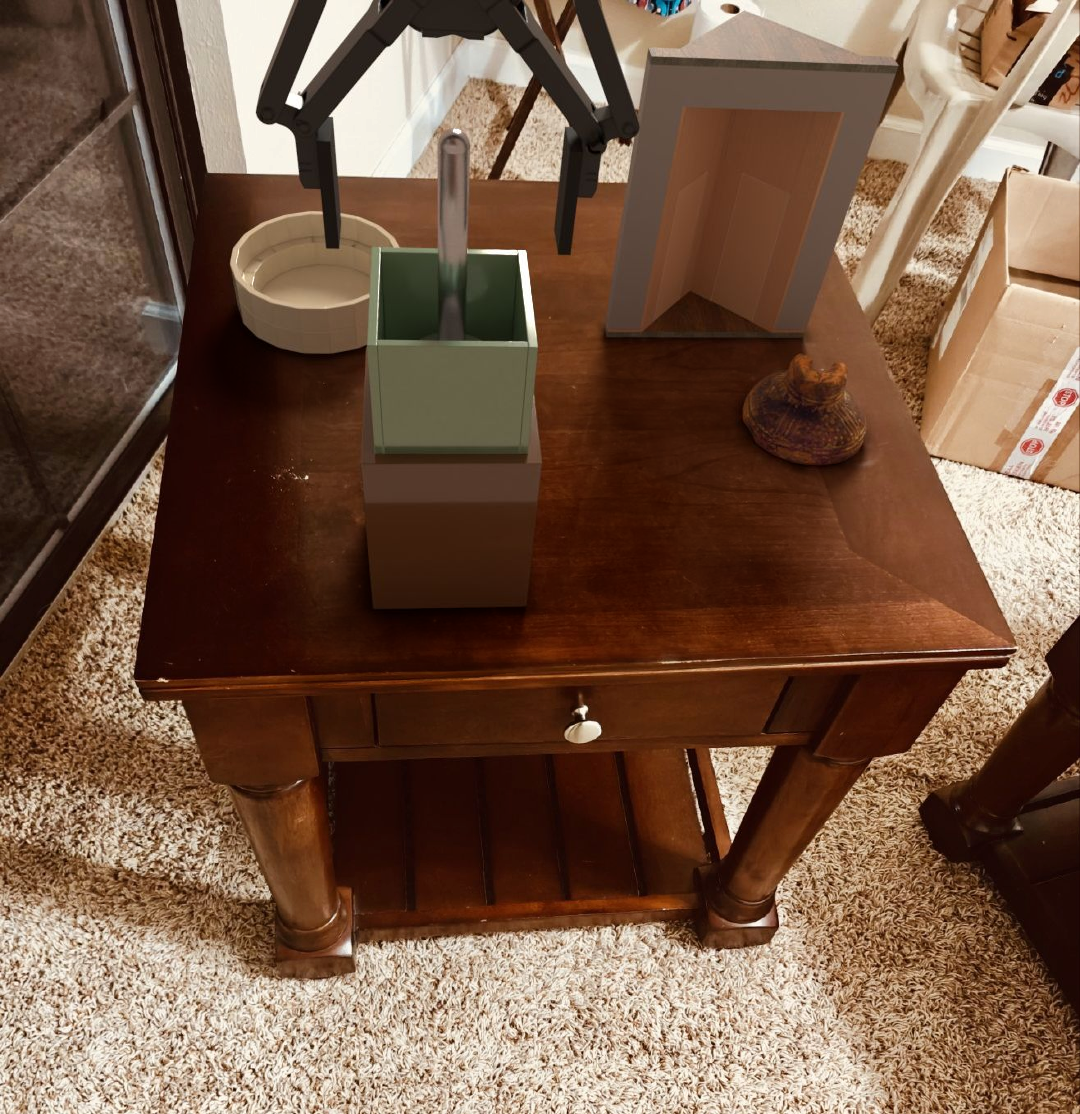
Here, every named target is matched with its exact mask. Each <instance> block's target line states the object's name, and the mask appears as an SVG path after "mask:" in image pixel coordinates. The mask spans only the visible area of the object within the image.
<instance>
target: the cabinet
mask: <svg viewBox="0 0 1080 1114" xmlns="http://www.w3.org/2000/svg"><path fill="white" fill-rule="evenodd" d="M645 60H646V61H645V68H644V73H643V79H642V80H643V81H642V84H641V85H642V86H641V93H640V99H639V104H638V112H637V118H638V122H639V127H640V129H639V132H638V134H637V135H636V136H635V137H633V142H632V150H631V155H630V161H629V168H628V175H627V181H626V187H625V193H624V199H623V200H624V201H623V207H622V212H621V213H622V214H621V219H620V224H619V226H620V227H619V232H618V237H617V244H616V251H615V258H614V264H613V268H612V269H613V270H612V277H611V283H610V289H609V296H608V301H607V309H606V314H605V315H606V316H605V320H604V327H603V328H604V332H605V336H606V338H730V339H731V338H735V339H736V338H741V339H742V338H743V339H744V338H746V339H747V338H752V339H753V338H757V339H759V338H760V339H761V338H763V339H764V338H765V339H766V338H771V339H774V338H775V339H777V338H778V339H782V338H783V339H803V338H804V336H805V333H806V330H807V328H808V325H809V323H810V319H811V317H812V314H813V311H814V308H815V306H816V302H817V299H818V296H819V294H820V291H821V289H822V286H823V283H824V279H825V277H826V274H827V272H828V269H829V265H830V263H831V260H832V257H833V255H834V251H835V248H836V246H837V244H838V243H837V242H838V239H839V237H840V234H841V232H842V228H843V226H844V224H845V220H846V217H847V214H848V211H849V208H850V205H851V203H852V199H853V197H854V194H855V192H856V189H857V185H858V183H859V179H860V177H861V175H862V171H863V169H864V166H865V162H866V160H867V158H868V155H869V151H870V148H871V145H872V143H873V139H874V137H875V135H876V133H877V132H876V131H877V129H878V125H879V123H880V120H881V117H882V114H883V111H884V109H885V107H886V103H887V99H888V97H889V94H890V91H891V89H892V86H893V83H894V81H895V78H896V74H897V71H898V70H899V69H898V68H899V66H900V65H899V64H898V62H897V61H896V60H895V58H894V56H881V55H880V56H879V55H877V56H876V55H862V54H859V53H857V52H854V51H851V50H849V49H846V48H843V47H841V46H838V45H835V44H832V43H831V42H828V41H826V40H823V39H820V38H817V37H815V36H813V35H809V34H807V33H804V32H802V31H799V30H796V29H794V28H791V27H789V26H787V25H783V24H781V23H778V22H776V21H773V20H770V19H768V18H765V17H763V16H761V15H757V14H755V13H752V12H749V11H746V10H745V9H744V10H742V11H740V12H739V13H738V14H735V16H732V17H731V18H729V19H727V20H725V21H724V22H722V23H720V24H719V25H717V26H715V27H714V28H712V29H710V30H708V31H707V32H705V33H703V34H701V35H700V36H699V37H697V38H695V39H693V40H692V41H690V42H688V43H687V44H685V45H683V46H681V47H680V48H675V47H673V48H672V47H653V46H652V47H651V46H649V47H647V55H646V59H645Z"/></svg>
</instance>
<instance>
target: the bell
mask: <svg viewBox="0 0 1080 1114" xmlns="http://www.w3.org/2000/svg"><path fill="white" fill-rule="evenodd" d="M848 377H849V369H848V367H847V365H846V364H844V362H842V361H841V362H840V361H836V362H833V364H832V365H831V368H830V369H829V371H825V372H819V371H817V370H814V361H813V359H812V358H811V357H810V356H809V355H807V354H805V353H799V354H797V355H795V356H793V358H792V359H791V361H790V364H789V365H788V369H783V370H777V371H775V372H772V373H770V374H769V375H767V376H765V377H764V378H762V379H761V380H759V381H758V382H757V383H755V384H754V385H753V386H752V388H751V389H750V391H749V392H748V394H747V395H746V398H745V400H744V403H743V407H742V420H743V424H744V425H745V426H746V427H747V428H748V430H749V433H750V434H751V435H752V438H753V440H754V441H755V443H756V444H757V445H758V446H759V447H761V448H762V449H764V450H765V451H766V452H767V453H769V454H772V456H775V457H777V458H779V459H781V460H784V461H788V462H790V463H794V464H800V465H807V466H827V465H835V464H839V463H843V462H844V461H847V460H848V459H850V458H852V457H853V456H854V455H856V454H857V453H858V452H859V450H860V449H861V448H862V446H863V444H864V441H865V439H866V435H867V429H868V428H867V427H868V423H867V419H866V415H865V411H864V408H863V406H862V404H861V401H860V400H859V399H858V397H857V396H856V395H855V394H854V393H853V392H852V391H851V390H850V388H849V387H847V386H846V385H847V382H848Z"/></svg>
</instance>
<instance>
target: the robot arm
mask: <svg viewBox="0 0 1080 1114" xmlns="http://www.w3.org/2000/svg"><path fill="white" fill-rule="evenodd" d="M572 1H573V5H574V9H575V13H576V17H577V20H578V23H579V26H580V28H581V32H582V35H583V37H584V40H585V43H586V45H587V48H588V51H589V54H590V57H591V60H592V62H593V66H594V68H595V71H596V74H597V76H598V80H599V82H600V85H601V89H602V91H603V94H604V97H605V99H606V102H607V105H605V106H601V107H598V108H597V106H596V105H595V103H594V101H592V99H591V97H590V96H589V94H588V93H587V91H585V89H584V87H583V86H582V85H581V83H580V82H579V80H578V78H576V75H575V74H574V73H573V71H572V70H571V69H570V68H569V66H568V64H567V63H566V61H565V60H564V59H563V57H562V55H560V53H559V51H558V50H557V48H556V47H555V46H554V44H553V43H552V41H551V40H550V39H549V37H548V35H547V34H546V33H545V32H544V30H543V28H542V27H541V26H540V24H539V22H538V21H537V20H536V18H535V17H534V14H533V12H532V11H531V9H530V7H529V5H528V4H527V2H526V1H525V0H372V1H371V3H370V5H369V6H368V8H367V10H366V12H365V13H364V14H363V15H362V16H361V18H360V19H359V20H358V22H356V24H355V25H354V27H353V28H352V29H351V30H350V31H349V33H348V34H347V36H345V38H344V39H343V40H342V42H341V43H340V44H339V45H338V47H337V48H336V49H335V50H334V52H333V53H332V54H331V55H330V57H329V58H328V59H327V60H326V61H325V62H324V64H323V65H322V66H321V68H320V69H319V70H318V72H317V73H316V74H315V75H314V77H313V78H312V79H311V80H310V82H309V83H308V84H307V85H306V87H305V88H304V89H303V90H302V92H301V91H298V92H297V94H296V93H293V92H291V91H292V89H293V86H294V83H295V81H296V79H297V76H298V74H299V71H300V69H301V66H302V64H303V61H304V59H305V57H306V54H307V52H308V49H309V47H310V45H311V42H312V39H313V37H314V35H315V32H316V30H317V27H318V25H319V23H320V20H321V18H322V15H323V13H324V10H325V8H326V6H327V2H328V0H293V2H292V4H291V7H290V10H289V12H288V15H287V18H286V20H285V24H284V25H283V28H282V29H281V30H282V31H281V33H280V36H279V38H278V41H277V44H276V46H275V49H274V51H273V54H272V57H271V58H270V61H269V64H268V67H267V69H266V72H265V75H264V77H263V80H262V82H261V85H260V89H259V93H258V98H257V103H256V106H255V107H256V108H255V115H256V118H257V120H258V121H259V122H261V123H262V124H264V125H267V126H272V125H276V124H277V125H280V126H282V127H285V128H287V129H288V130H289V131H290V132H291V134H292V135H293V137H294V141H295V152H296V161H297V169H298V178H299V182H300V184H301V186H302V187H303V189H305V190H320V199H321V211H323V222H324V233H325V243H326V249H339V245H340V233H341V213H342V212H341V202H340V189H339V178H338V177H339V176H338V175H339V174H338V164H337V163H338V162H337V151H336V138H335V137H336V136H335V124H334V117H333V116H331V114H333V112H334V111H335V109H337V107H338V106H339V105H340V104H341V102H343V100H344V99H345V98H346V97H347V95H348V94H349V93H350V92H351V90H353V88H354V87H355V86H356V85H357V84H358V82H359V81H360V79H362V77H363V76H364V75H365V74H366V73H367V71H368V70H369V69H370V68H371V67H372V65H373V64H374V63H375V62H376V60H377V59H378V58H379V57H380V56H381V54H383V52H384V51H385V50H386V49H387V48H389V47H391V46H393V44H394V43H395V42H396V40H398V38H399V37H400V36H401V35H402V33H404V31H405V30H406V29H407V28H408V26H409V27H410V28H411V29H413V30H414V31H416V32H417V33H420V34H421V38H429V39H431V38H432V39H439V38H444V37H448V36H457V37H460V38H463V39H465V40H467V41H468V40H470V41H485V37H487V36H489V35H492V34H494V33H495V32H497V31H499V32H500V34H501V35H502V36H503V38H504V39H505V40H506V42H507V43H508V45H509V46H510V48H511V49H512V50H513V51H514V52H515V54H518V55H519V56H520V57H521V59H522V60H523V62H524V63H525V65H526V66H527V67H528V69H529V70H530V71H531V73H532V74H533V76H534V77H535V78H536V79H537V81H538V83H540V85H541V86H542V88H543V89H544V91H545V93H547V95H548V96H549V98H550V99H551V101H552V102H553V103H554V104H555V106H556V107H557V109H558V110H559V111H560V112H561V114H562V115H563V117H564V118H565V120H566V121H567V122H568V124H569V125H570V126H564V130H563V131H564V133H563V142H562V152H561V160H560V168H559V169H560V171H559V179H558V189H557V199H556V207H555V216H554V226H553V231H554V239H555V245H556V251H557V255H558V256H571V255H572V247H573V238H574V232H575V231H574V230H575V222H576V214H577V207H578V198H581V199H582V198H583V199H593V197H594V195H595V194H596V192H597V189H598V183H599V175H600V168H601V162H602V161H601V160H602V155H603V154H605V152H606V150H607V149H608V142H610V141H612V140H614V139H618V138H622V139H624V140H631V139H634V137H635V136H636V135H637V134H638V132H639V129H640V127H639V122H638V118H637V117H638V114H637V111H636V109H635V104H634V101H633V98H632V96H631V92H630V89H629V86H628V82H627V80H626V78H625V75H624V71H623V67H622V65H621V62H620V59H619V56H618V53H617V49H616V46H615V44H614V41H613V37H612V35H611V32H610V29H609V26H608V24H607V20H606V17H605V13H604V11H603V8H602V5H601V2H600V0H572Z"/></svg>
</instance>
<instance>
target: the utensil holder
mask: <svg viewBox="0 0 1080 1114" xmlns="http://www.w3.org/2000/svg"><path fill="white" fill-rule="evenodd" d="M528 261H529V260H528V254H527V250H523V249H520V250H519V249H518V250H516V249H484V248H483V249H481V248H480V249H479V248H478V249H477V248H468V256H467V296H466V334H468V335H471V336H474V337H476V338H478V339H480V340H482V341H436V340H420V339H422V338H424V337H426V336H428V335H432V334H435V333H438V247H437V248H433V247H431V248H430V247H400V248H395V247H372V252H371V273H370V293H369V314H368V335H367V345H366V348H365V361H364V363H365V364H364V381H363V382H364V383H363V384H364V385H363V401H362V402H363V405H362V424H361V441H360V442H361V445H360V474H361V476H360V477H361V486H362V487H361V488H362V498H363V509H364V510H363V511H364V521H365V532H366V544H367V545H366V546H367V555H368V557H367V558H368V566H369V580H370V591H371V592H370V593H371V601H372V610H403V609H404V610H406V609H407V610H408V609H462V608H463V609H464V608H466V609H468V608H470V609H471V608H517V607H519V608H520V607H521V608H522V607H523V608H524V607H527V603H528V595H529V586H530V578H531V568H532V559H533V551H534V544H535V543H534V541H535V534H536V533H535V532H536V524H537V515H538V507H539V506H538V505H539V498H540V488H541V479H542V471H543V458H542V449H541V440H540V431H539V423H538V415H537V414H538V413H537V405H536V404H537V403H536V395H535V385H536V375H537V364H538V355H539V344H538V333H537V326H536V319H535V311H534V303H533V302H534V301H533V294H532V286H531V278H530V269H529V262H528Z"/></svg>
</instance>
